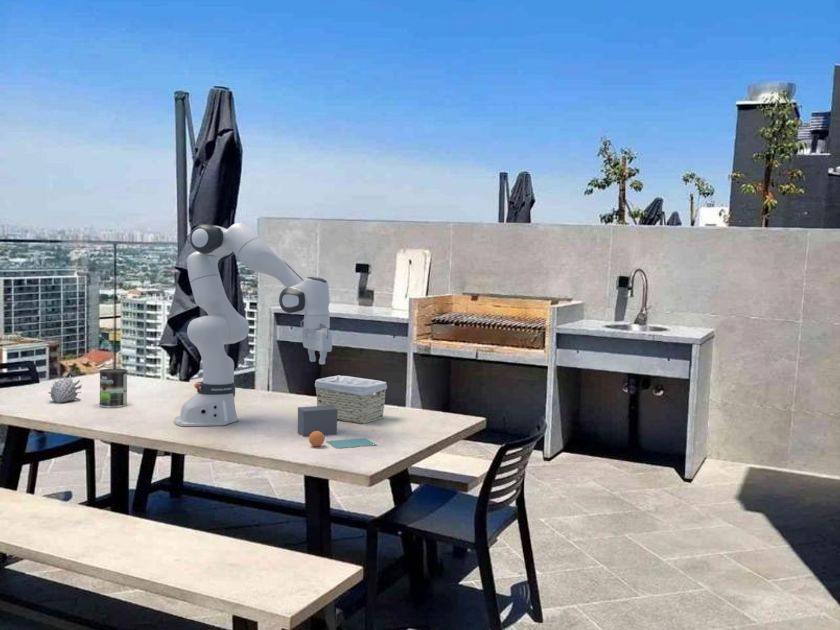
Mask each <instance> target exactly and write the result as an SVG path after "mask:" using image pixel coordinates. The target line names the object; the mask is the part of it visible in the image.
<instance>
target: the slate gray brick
mask: <svg viewBox="0 0 840 630" xmlns="http://www.w3.org/2000/svg"><path fill="white" fill-rule="evenodd" d="M337 411H338V409H337V408H335V407H333V406H331V405H329V406H317V405H311V406H297V433H298V434H299V435H300V436H302V437H304V436H305V437H309V436H310V434H311V433H312V432H314V431H320V432H322V433H323V435H324V436H328V435H330V436H331V435H337V434H338V419H337Z"/></svg>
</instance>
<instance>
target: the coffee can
mask: <svg viewBox="0 0 840 630" xmlns="http://www.w3.org/2000/svg"><path fill="white" fill-rule="evenodd" d="M127 397H128V369H125V368H103V369H99V407H100V408H105V409H107V408H108V409H111V408H112V409H113V408H114V409H116V408H124V407H126V406H127V405H128V398H127Z"/></svg>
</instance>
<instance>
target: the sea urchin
mask: <svg viewBox="0 0 840 630" xmlns="http://www.w3.org/2000/svg"><path fill="white" fill-rule="evenodd" d="M80 382H81V380H80V379H78V380H77V381H76V382H74V380H73V378H72V376H71V375H69V377H68V378H67V377H66V375H64V376H63V379H61V378H60V377H59V379H58V381H56V380H54V381H53V383H52V387H50V391H49V392H47V394H50V398H51V400H52V401H54V402H55V403H58V404H62V403H65V402H69V401H70V402H71V401H74V400H76V401H81V400H82V399H81V398H78V397H77V396H78V394H80V393H82V391H79V392H78V391H77V390H81V389H82V384H80V385H78V384H79V383H80ZM77 385H78V386H77ZM76 391H77V392H76Z"/></svg>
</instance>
